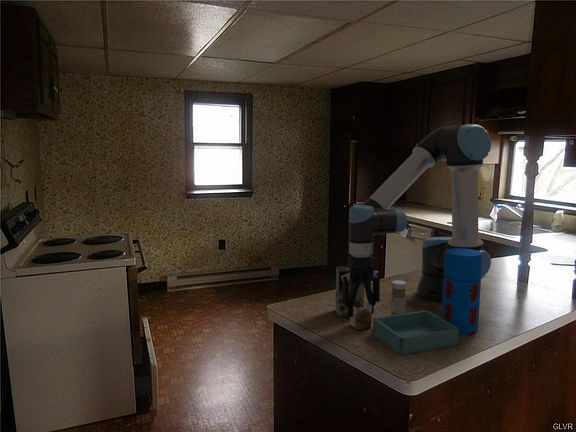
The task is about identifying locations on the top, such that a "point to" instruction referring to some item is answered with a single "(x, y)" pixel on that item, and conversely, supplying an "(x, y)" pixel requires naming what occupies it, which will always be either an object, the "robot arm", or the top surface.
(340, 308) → the coffee box
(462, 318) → the thermos
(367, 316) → the walnut cube
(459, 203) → the robot arm
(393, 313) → the sprinkles bottle
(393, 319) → the tote
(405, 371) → the top surface
